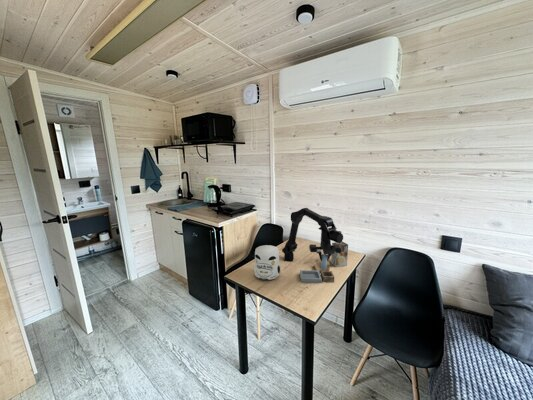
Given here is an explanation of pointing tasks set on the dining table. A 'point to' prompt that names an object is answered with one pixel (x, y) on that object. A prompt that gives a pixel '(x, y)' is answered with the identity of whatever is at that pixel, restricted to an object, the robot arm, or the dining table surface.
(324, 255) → the dowel
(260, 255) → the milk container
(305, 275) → the tray
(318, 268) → the tan cardboard box
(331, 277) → the socket block
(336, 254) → the coffee box
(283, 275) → the dining table surface
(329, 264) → the light wooden block
